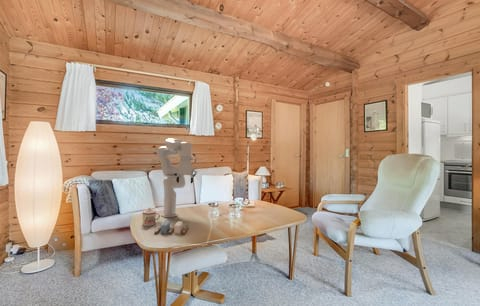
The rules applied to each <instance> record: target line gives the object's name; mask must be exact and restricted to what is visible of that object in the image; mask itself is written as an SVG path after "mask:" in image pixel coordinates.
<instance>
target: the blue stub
mask: <svg viewBox="0 0 480 306" xmlns="http://www.w3.org/2000/svg"><path fill="white" fill-rule="evenodd" d="M160 225H161V233H167V232H168V231H169V229H170V228H171V221H168V220H166V221H164V222H162V223H161V224H160Z"/></svg>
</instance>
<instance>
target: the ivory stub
mask: <svg viewBox="0 0 480 306" xmlns="http://www.w3.org/2000/svg"><path fill="white" fill-rule="evenodd" d="M173 226H174V233H178V234H180V232H181V231H182V229H183V228H184V227H183V226H184V222H183V220H182V221H179V220H178V221H177V222H176V223H175V224H174V225H173Z"/></svg>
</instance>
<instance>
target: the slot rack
mask: <svg viewBox="0 0 480 306" xmlns="http://www.w3.org/2000/svg"><path fill="white" fill-rule="evenodd" d="M161 225H162V224H160V225H159V226H158V227H157V228H156V230H155V231H154V233H153V235H160V236H161V235H162V236H165V235H166V236H167V235H168V236H169V235H171V236H185V235H186V233H187V232H188V230H189V225H185V227H183V229H182V231H181V232H180V234H178V233H174V225H173V226H172V227H170V229H169V231H168V232H167V233H161Z"/></svg>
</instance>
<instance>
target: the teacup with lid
mask: <svg viewBox="0 0 480 306" xmlns="http://www.w3.org/2000/svg"><path fill="white" fill-rule="evenodd" d="M156 215H158V218H156V217H157V216H156ZM160 217H161V214H160V213H158V212H157V211H156V210H155V209H152V208H151V207H148V208H147V209H145V210H143V211H142V225H143V226H144V227H151V226H154V225H155V224H156V221H158V220H159V219H160Z"/></svg>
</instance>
